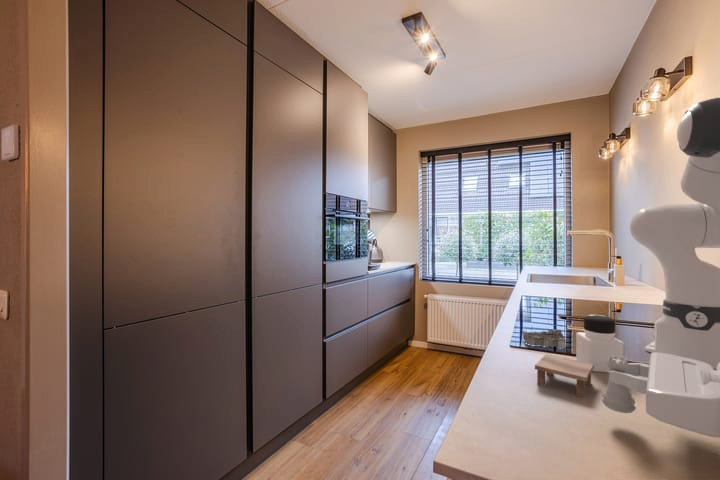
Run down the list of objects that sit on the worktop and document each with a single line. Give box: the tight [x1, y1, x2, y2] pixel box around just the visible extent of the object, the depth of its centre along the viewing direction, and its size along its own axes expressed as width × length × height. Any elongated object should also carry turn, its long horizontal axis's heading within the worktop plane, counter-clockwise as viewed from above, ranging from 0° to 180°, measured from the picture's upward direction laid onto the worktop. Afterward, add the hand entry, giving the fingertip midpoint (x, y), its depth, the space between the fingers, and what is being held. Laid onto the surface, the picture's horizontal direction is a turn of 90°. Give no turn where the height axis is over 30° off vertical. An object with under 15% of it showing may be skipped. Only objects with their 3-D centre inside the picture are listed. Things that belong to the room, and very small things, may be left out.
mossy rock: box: [522, 328, 567, 349], centre depth 96 cm, size 11×8×4 cm
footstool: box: [534, 353, 594, 398], centre depth 70 cm, size 9×9×4 cm
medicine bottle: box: [575, 314, 625, 373], centre depth 79 cm, size 7×7×12 cm
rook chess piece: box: [601, 356, 637, 414], centre depth 55 cm, size 4×4×8 cm
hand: (611, 370), depth 55 cm, fingers closed on rook chess piece, 3 cm apart
